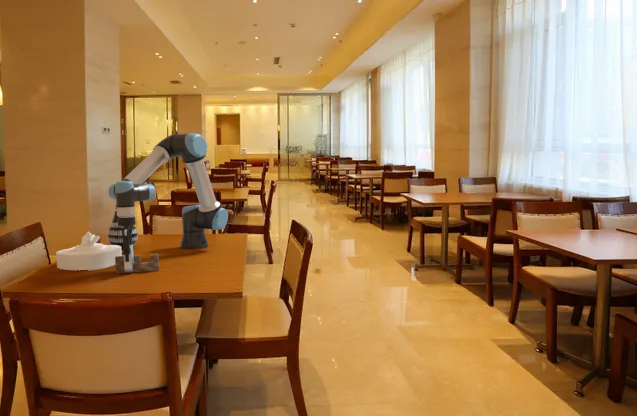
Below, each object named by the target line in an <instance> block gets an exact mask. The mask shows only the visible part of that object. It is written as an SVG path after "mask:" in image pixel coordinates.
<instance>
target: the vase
mask: <svg viewBox="0 0 637 416" xmlns="http://www.w3.org/2000/svg"><path fill="white" fill-rule="evenodd" d="M114 209H117V206H116V205H115V208H114ZM118 217H119V216H117V211H115V210H114V215H113V217H112V221H111V223H110V226H109V228H108V230H107V235H106V239H107V242H108V243H109V245H118V246H121V251H123V238H122V230H123V226H118V225H117V218H118ZM135 225H136V224H135ZM135 225H133V226H130V227H131V229H132V244H133V246H134V245H135V244H136V243H137V242H138V239H139V233H138V229H137V227H136V226H135Z"/></svg>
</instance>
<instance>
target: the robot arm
mask: <svg viewBox="0 0 637 416" xmlns="http://www.w3.org/2000/svg"><path fill="white" fill-rule="evenodd" d="M207 149H208V144H207V141H206V139H205V138H204V137H203V135H201V134H200V133H194V132H193V133H192V132H191V133H174V134H170V135H169V136H166V137H165V138H163V139H162V140H160V141H159V142H158V143H157V144H156V145H155V146H153V148H152V151H151V152H150V154H148V155H147V156H146V157H145V158H144V159H143V160H142V161H141V162H140V163H139V164H138V165H137V166H136V167H134V168H133V169H132V170H131V171H130V173H128V174H127V175H126V176H125V177H124V178H123V179H122V180H120V181H117V182H115V183H113V184H111V185H110V186H109V187H108V195H109V196H108V197H110V198H111V199H112V200H115V207H116V206H117V209H115V208H114V209H115V210H114V212H115V211H117V216H119V217H118V218H117V225H118V226H123V230H122V238H123V250H122V256H124V268H125V269H131V254H130V245H132V229H131V227H130V226H133V225H136V216H135V215H136V205H135V202H145V201H146V202H147V201H150V200H153V199H154V198H155V197H156V187H155V186H154V185H153V184H152V183H144V182H145V181H147V179H148V178H149V177H150V176H151V175H153V174H154V173H155V171H156V170H158V168H160V167H161V166H162V165H163V164H164V163H168V162H169V161H170V160H171V159H173V158H181V160H182V163H183V164H185V165H186V166H187V168H188V172H189V176H190V177H191V181H192V184H193V187H194V191H195V194H196V195H197V196H196V197H197V199H198V202H199V204H196V205H188V206H184V207H182V209H181V219H182V222H181V223H182V235H181V240H180V243H179V244H180V246H179V247H180V249H182V250H183V249H184V250H199V249H204V248H205V249H206V248H208V247H209V240H208V238H207V235H206V232H205V230H213V231H218V230H222V229H224V228H225V227H226V226H227V222H228V220H229V212H228V210H227V209H226V208H224V207H222V206H221V205H222V204H221V202H220V201H218V200H217V199H216V195H215V193H214V190H213V186H212V183H211V181H210V177H209V174H208V171H207V167H206V164H205V161H204V160H205V158H206V154H207V152H208V150H207ZM134 249H135V246H133V250H134Z"/></svg>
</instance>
